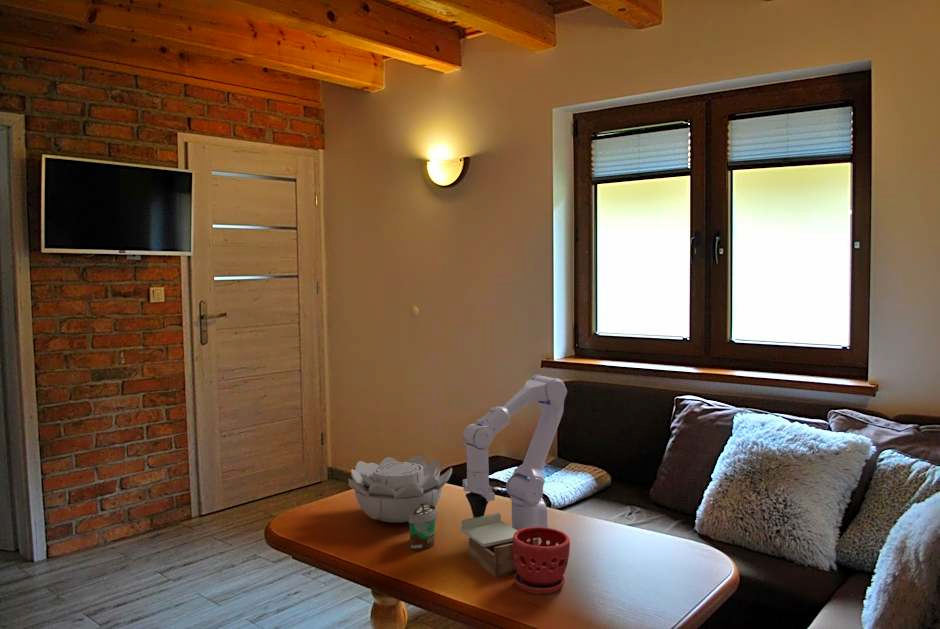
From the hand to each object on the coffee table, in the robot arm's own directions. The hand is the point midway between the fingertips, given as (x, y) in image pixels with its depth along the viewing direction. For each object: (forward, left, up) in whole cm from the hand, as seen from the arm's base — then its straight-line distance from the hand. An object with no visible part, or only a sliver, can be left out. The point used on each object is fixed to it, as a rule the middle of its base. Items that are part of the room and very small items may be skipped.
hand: (478, 520), depth 197 cm
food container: (+12, -7, -7) cm, 16 cm away
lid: (0, +7, -1) cm, 7 cm away
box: (0, +13, -7) cm, 15 cm away
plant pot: (-1, +29, -7) cm, 30 cm away
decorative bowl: (+11, -31, -7) cm, 34 cm away
